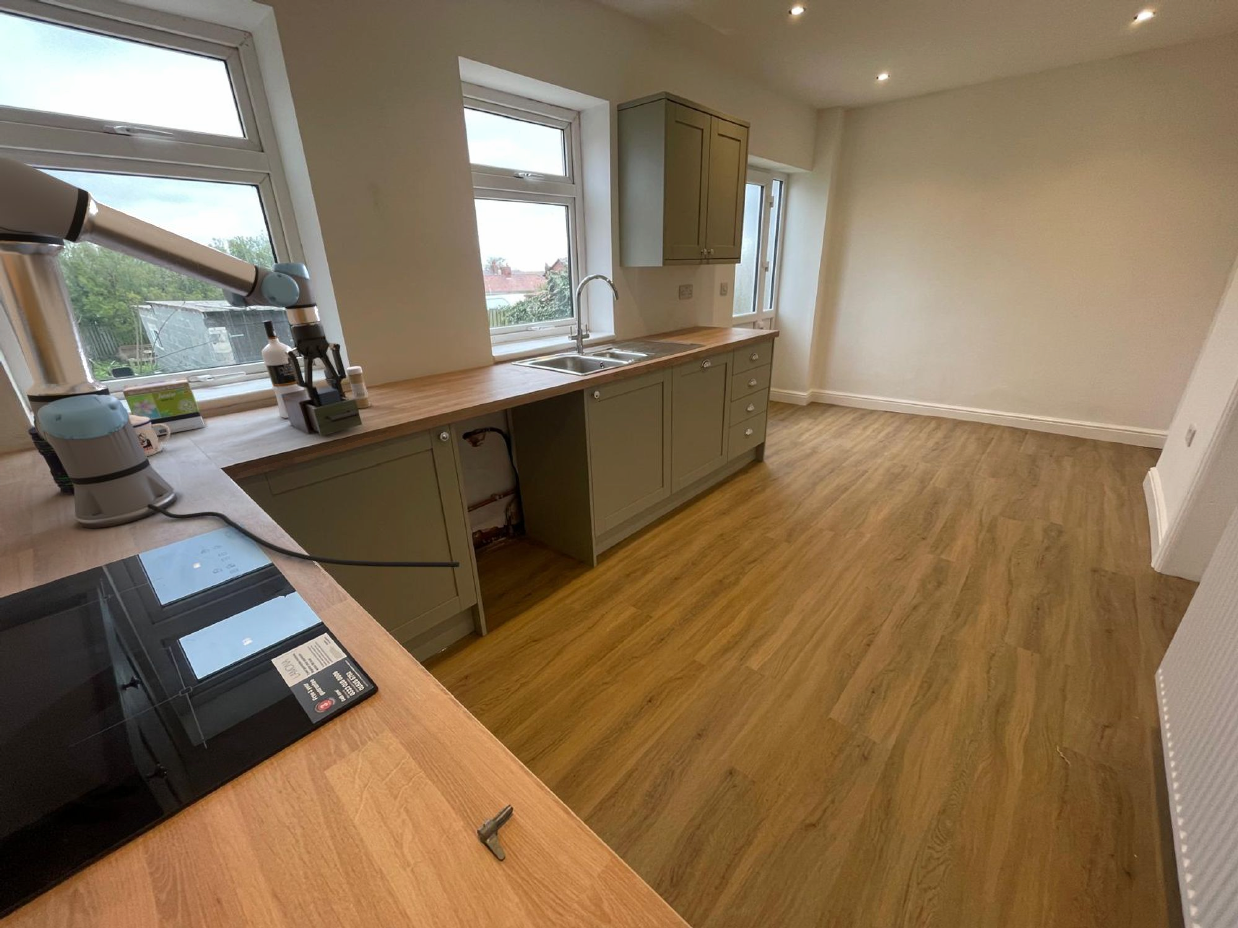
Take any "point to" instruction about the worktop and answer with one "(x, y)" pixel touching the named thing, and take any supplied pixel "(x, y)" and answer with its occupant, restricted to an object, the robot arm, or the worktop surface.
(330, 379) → the grey figurine
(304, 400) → the cabinet
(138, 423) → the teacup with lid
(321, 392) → the block
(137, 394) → the tea box
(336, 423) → the drawer
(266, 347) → the vodka
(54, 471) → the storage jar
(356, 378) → the sprinkles bottle
